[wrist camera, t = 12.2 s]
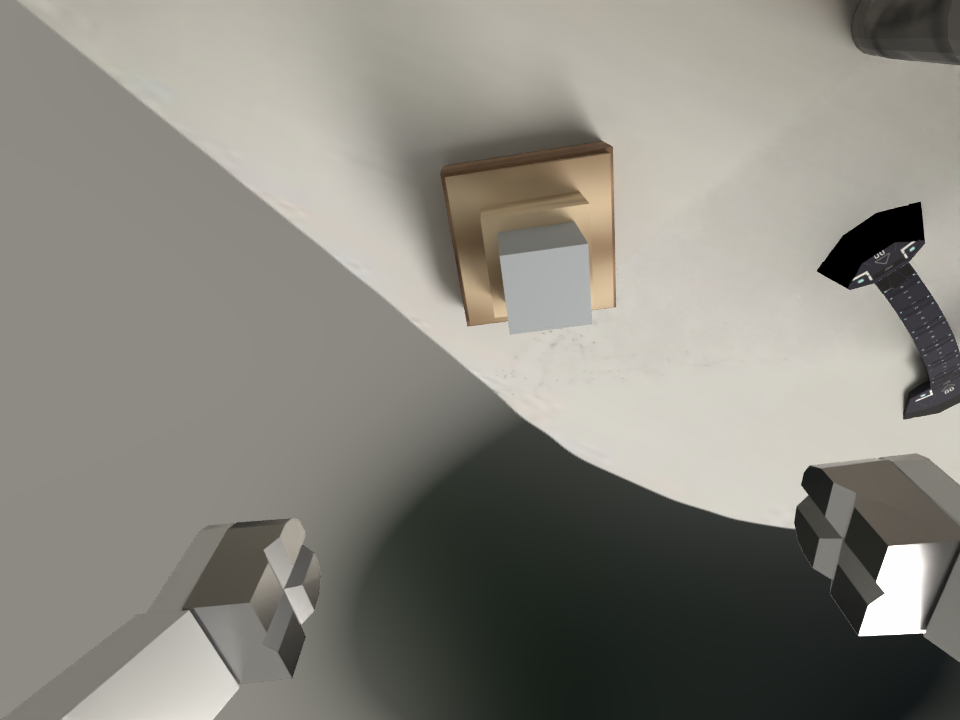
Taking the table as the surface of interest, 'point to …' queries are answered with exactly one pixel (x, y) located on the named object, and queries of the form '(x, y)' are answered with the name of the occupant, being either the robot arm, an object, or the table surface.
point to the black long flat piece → (902, 297)
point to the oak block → (529, 216)
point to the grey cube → (545, 277)
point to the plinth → (526, 180)
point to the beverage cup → (909, 29)
